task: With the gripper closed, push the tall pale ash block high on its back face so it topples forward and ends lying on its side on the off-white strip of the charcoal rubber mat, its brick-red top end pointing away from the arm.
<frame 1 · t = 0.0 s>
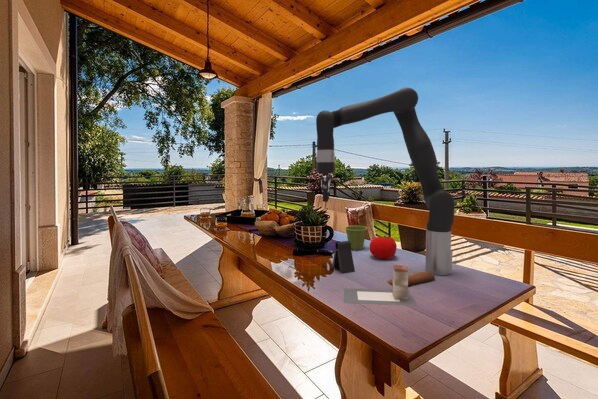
hand: (325, 200, 131), 29 cm above the table, tool pointing down, fingers open, 8 cm apart
sunglasses case: (408, 285, 116), on the table
phone stand: (343, 270, 133), on the table
tomato: (383, 258, 150), on the table
rubber mat: (377, 298, 103), on the table
plant pot: (356, 249, 167), on the table
ash block: (399, 297, 102), point 1 cm above the table, touching rubber mat
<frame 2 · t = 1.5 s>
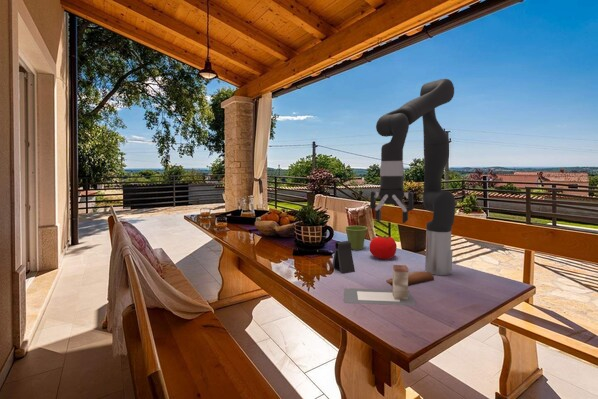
hand: (391, 221, 109), 24 cm above the table, tool pointing down, fingers open, 8 cm apart
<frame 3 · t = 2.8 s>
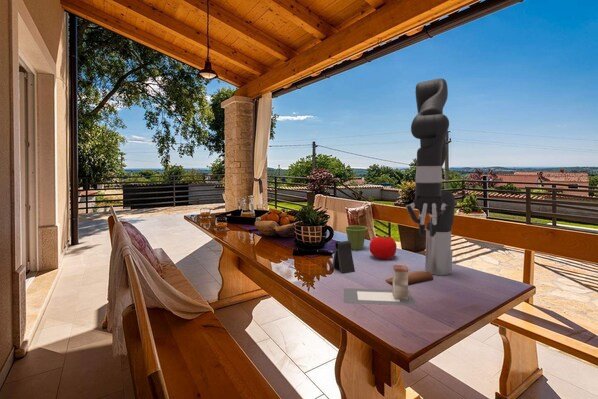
hand: (427, 235, 99), 21 cm above the table, tool pointing down, fingers closed
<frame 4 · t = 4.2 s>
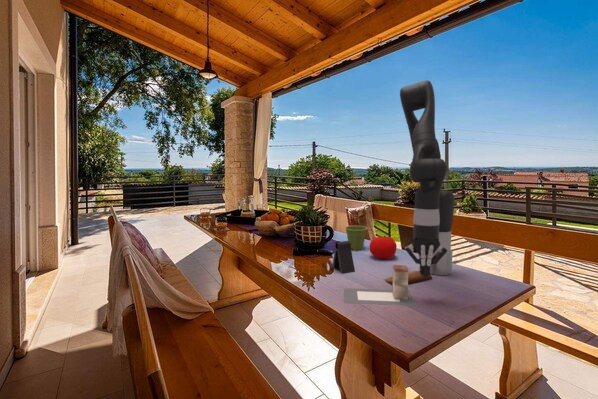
hand: (424, 276, 100), 8 cm above the table, tool pointing down, fingers closed
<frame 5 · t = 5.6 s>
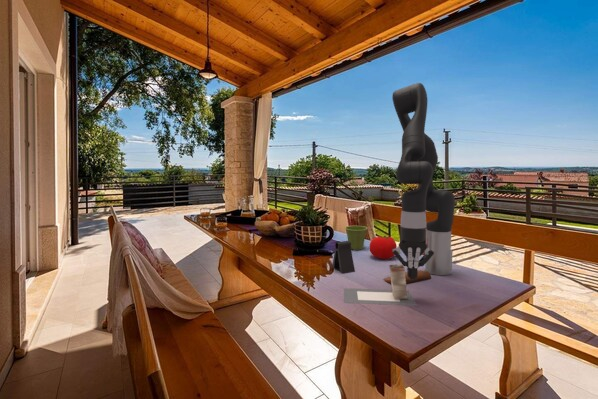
hand: (412, 278, 101), 7 cm above the table, tool pointing down, fingers closed
ash block: (399, 296, 102), point 1 cm above the table, tilted 6°, touching rubber mat
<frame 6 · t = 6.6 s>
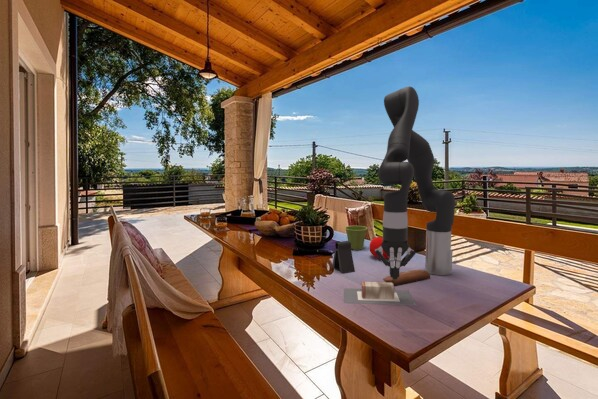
hand: (394, 278, 102), 7 cm above the table, tool pointing down, fingers closed
ash block: (393, 290, 102), point 3 cm above the table, tilted 90°, touching rubber mat
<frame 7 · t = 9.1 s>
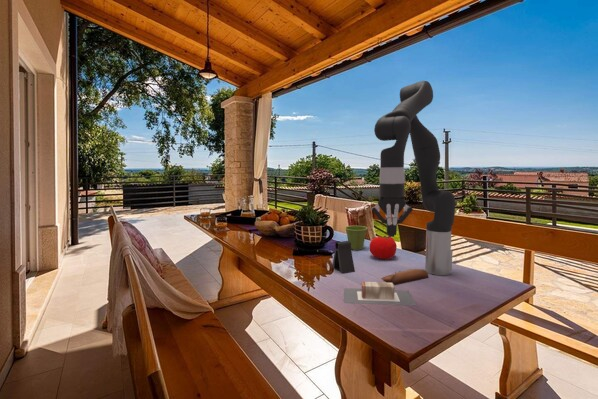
hand: (391, 236, 101), 21 cm above the table, tool pointing down, fingers closed
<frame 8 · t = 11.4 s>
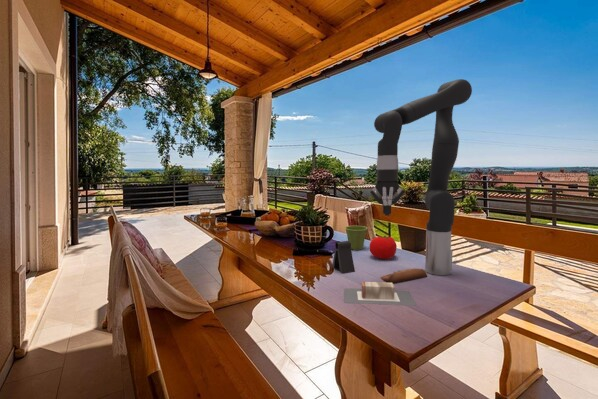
hand: (386, 215, 117), 25 cm above the table, tool pointing down, fingers closed
at the end: ash block tilted 90°; ash block inside the target area (1.5 cm from its centre), point 2.8 cm above the table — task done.
